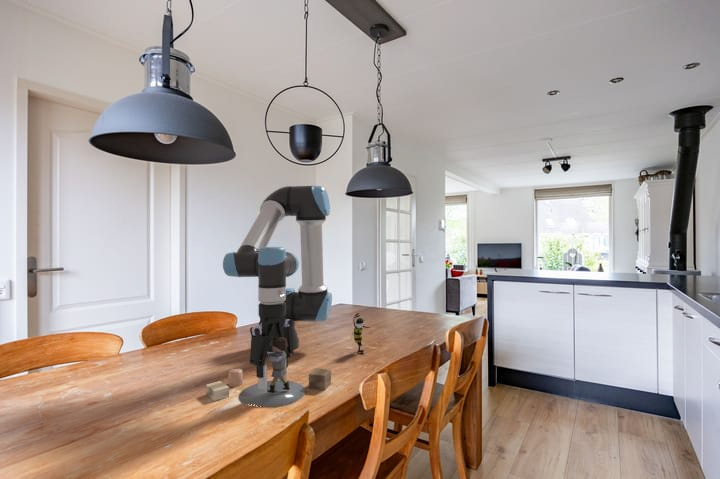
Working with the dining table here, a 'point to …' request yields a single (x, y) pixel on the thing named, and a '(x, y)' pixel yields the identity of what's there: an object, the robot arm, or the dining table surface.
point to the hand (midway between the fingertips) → (272, 384)
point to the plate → (272, 394)
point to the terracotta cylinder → (235, 377)
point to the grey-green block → (217, 390)
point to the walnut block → (320, 379)
